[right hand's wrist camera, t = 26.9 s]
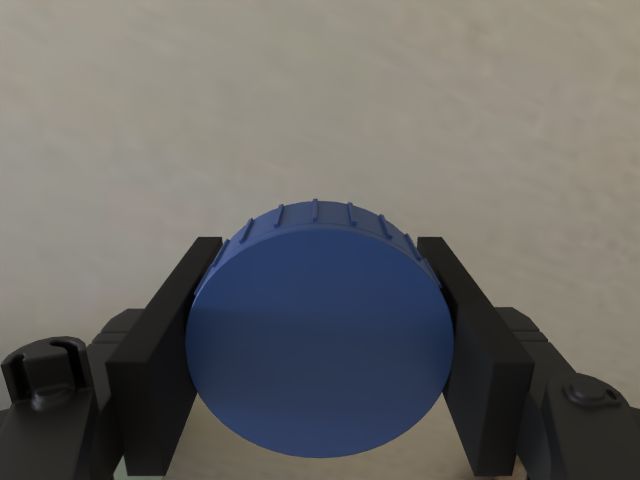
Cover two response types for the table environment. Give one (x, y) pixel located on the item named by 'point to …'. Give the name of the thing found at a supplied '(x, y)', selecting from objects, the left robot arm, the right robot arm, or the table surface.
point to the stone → (515, 472)
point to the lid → (319, 332)
